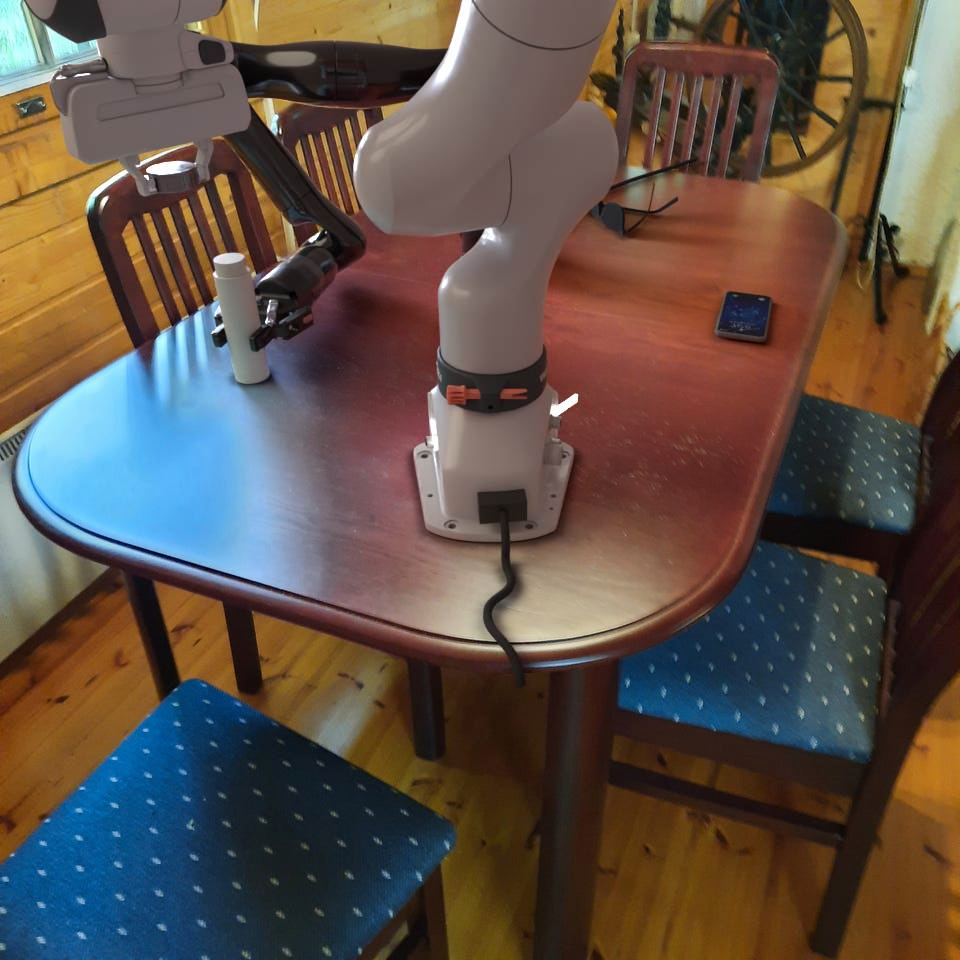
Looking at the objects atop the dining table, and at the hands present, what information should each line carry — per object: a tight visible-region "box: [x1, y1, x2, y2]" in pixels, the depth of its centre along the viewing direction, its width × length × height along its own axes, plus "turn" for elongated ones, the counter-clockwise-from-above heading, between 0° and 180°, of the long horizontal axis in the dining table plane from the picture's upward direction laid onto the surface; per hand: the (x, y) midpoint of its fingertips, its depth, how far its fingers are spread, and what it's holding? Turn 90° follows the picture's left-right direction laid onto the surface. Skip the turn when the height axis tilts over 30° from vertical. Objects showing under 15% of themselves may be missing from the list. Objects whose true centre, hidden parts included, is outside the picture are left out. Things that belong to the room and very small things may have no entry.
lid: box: [146, 160, 200, 194], centre depth 96 cm, size 5×5×2 cm
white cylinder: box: [212, 252, 271, 385], centre depth 113 cm, size 5×5×17 cm
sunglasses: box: [589, 181, 679, 236], centre depth 161 cm, size 17×14×5 cm
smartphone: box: [714, 290, 774, 343], centre depth 128 cm, size 7×1×15 cm
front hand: (175, 187), depth 97 cm, fingers closed on lid, 5 cm apart
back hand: (234, 343), depth 112 cm, fingers closed on white cylinder, 4 cm apart
